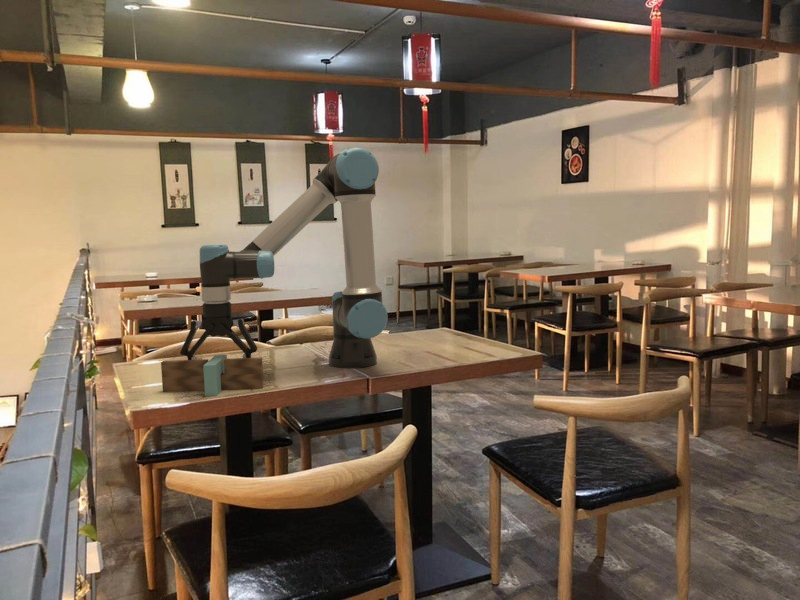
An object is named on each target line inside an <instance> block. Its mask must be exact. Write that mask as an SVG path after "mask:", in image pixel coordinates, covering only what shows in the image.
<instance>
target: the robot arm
mask: <svg viewBox="0 0 800 600" xmlns="http://www.w3.org/2000/svg"><path fill="white" fill-rule="evenodd" d="M379 170H380V167H379V163H378V161H377V159H376V157H375V155H374V154H373V153H371V151H369V150H368V149H366V148H363V147H360V146H359V147H355V146H354V147H350V148H349V147H348V148H345V149H344V150H342V151H341V152H340V153H337V154H336V155H334V156H333V157H331V159H330V160H329V162H328V163H326V165H325V166H324V167H323V168H322V169H321V171H319V173H318V174H317V175H316V176H315V177H314V178H313V179H312V183H311V185H310V186H309V187H308V188H307V189H306V190H305V191H304V192H302V194H301V195H299V197H297V199H296V200H294V201H293V202H292V203H291V204H290V205H289V206H288V207H287V208H285V210H283V212H282V213H280V214H279V215H278V216H277V217H276V218H275V219H274V220H273V221H272V222H270V223H269V224H268V225H267V227H265V228H264V229H263V230H262V231H261V232H260V233H259V234H258V235H257V236H256V237H255V238H254V239H252V241H251V242H250V243H248V244H247V245H246V246H245V247H243V249H242V250H240V251H230V250H229V246H228V245H227V244H203V245H202V246H200V247H199V272H200V284H201V285H200V287H201V288H200V289H201V301H202V302H203V303H202V305H201V308H202V320H197V319H194V320H191V322H190V329H189V332H188V333H187V336H186V339H185V341H184V343H183V345H182V347H181V350H180V355H182V356H184V357H185V356H186V357H187V360H198V355H195V353H196V352H197V351H198V349H199V348H200V347H201V346H202V344H203V343H204V342H205V341H206V339H207V338H208V337H209V336H211V337H225V336H227V337H228V338H230V339H231V340H232V341H233V343H234V344H235V345H236V346H237V347H238V348H239V349H240V350H241V352H243V353H244V354H242V358H252V354H253V353H256V352H257V351H258V346H257V344H256V343H255V341H254V339H253V337H252V336H251V334H250V332H249V331H248V329H247V327H246V324H245V319H244V318H243V317H241V318H239V319H233V314H232V303H231V302H230V300H231V299H232V295H231V294H232V293H231V280H239V279H240V280H241V279H244V280H245V279H247V280H248V279H265V278H268V279H269V278H273V277H274V274H275V258H274V256H276V255H277V254H278V253H279V252H280V251H281V250H283V248H284V247H285V246H286V245H288V244H289V243H290V241H292V239H294V238H295V237H296V236H297V235H298V234H299V233H300V232H301V231H302V230H303V229H304V228H305V227H307V226H308V225H309V224H310V223H311V222H312V221H313V220H314V219H315V218H317V216H318V215H319V214H320V213H322V211H324V210H325V208H327V207H328V206H329V205H330V204H335V203H337V202H339V203H340V208H341V209H340V211H341V221H342V239H343V253H344V268H345V279H346V281H345V282H346V286H345V288H344V289H343V291H341V290H339V291H335V292H333V294H332V296H331V297H332V298H331V299H332V300H331V305H332V327H333V341H332V344H331V348H330V352H329V355H328V365H329V366H330V367H335V368H341V369H342V368H343V369H357V368H365V367H372V366H373V365H375V364H377V362H378V360H377V359H378V358H377V353H376V349H375V347H374V345H373V341H372V339H373V338H376V337H377V336H379V335H380V334H381V333H382V332H384V331H385V328H386V326H387V325H388V317H389V315H388V311H387V308H386V307H385V305H384V304H383V293H382V292H383V291H382V289H381V288H380V287H379V286H378V285H377V280H376V279H377V278H376V277H377V276H376V266H375V249H374V248H375V247H374V234H373V233H374V232H373V231H374V230H373V217H372V213H373V212H372V201H373V200H374V198H376V181H377V179H378V177H379V172H380V171H379ZM234 325H235V326H236V328H238V329H239V331H240V333H241V335H242V336H243V338H244V340H245V342H246V343H247V345H246V343H245V342H244V341H243V340H242V339H241V338H240V337H239V336H238V334H236V333H235V331H234V330H233V329H232V328H233V326H234ZM201 326H202V328H203V330H204V332H203V333H202V334H201V336H200V337H199V339H198V340H197V341H196V342H195V343H194V345H193V346H192V347H191V348H190V346H191V344H192V342H193V339H194V337H195V335H196V333H197V330H198V329H199V328H200V327H201ZM189 348H190V350H189Z"/></svg>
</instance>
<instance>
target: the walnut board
mask: <svg viewBox="0 0 800 600" xmlns="http://www.w3.org/2000/svg"><path fill="white" fill-rule="evenodd" d="M208 361H209V358H207V359H205V358H203V359H197V360H188V359H181V360H178V359H176V360H161V362H160V368H161V382H162V384H161V385H162V386H161V387H162V393H174V392H176V393H177V392H179V393H180V392H202V391H204V392H205V386H204V369H203V365H205V364H206V363H207V362H208ZM263 369H264V367H263V357H251V358H243V357H241V358H240V357H237V358H234V357H233V358H227V359H224V373H222V374H221V391H223V390H224V391H226V390H228V391H229V390H249V389H250V390H253V389H255V390H256V389H257V390H258V389H263V388H264V370H263Z"/></svg>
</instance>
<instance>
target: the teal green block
mask: <svg viewBox="0 0 800 600" xmlns="http://www.w3.org/2000/svg"><path fill="white" fill-rule="evenodd" d="M224 359H228V358H227V354H215V355H214V356H212V357H211V358H210V359H208V362H207V363H206V364H205V365H203V369H204V386H205V391H204V397H218V395H219V394H220V393H222V392H221V391H222V390H221V374H222V373H224Z"/></svg>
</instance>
